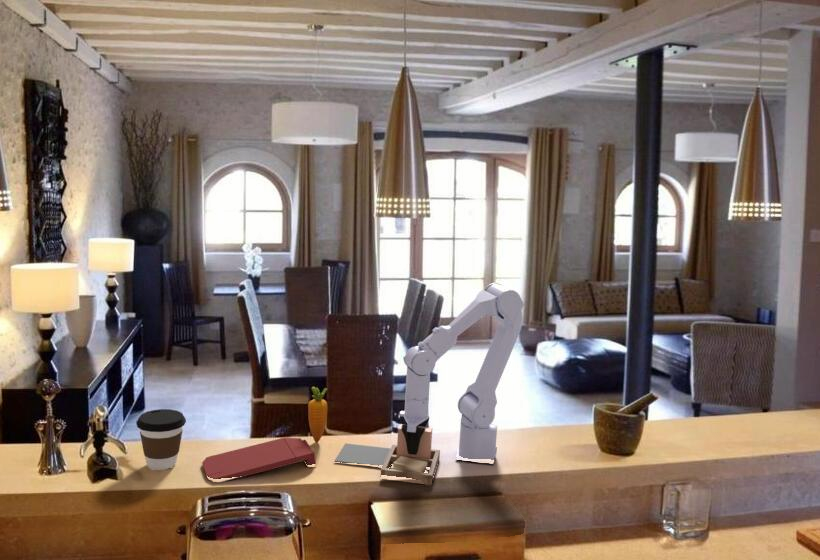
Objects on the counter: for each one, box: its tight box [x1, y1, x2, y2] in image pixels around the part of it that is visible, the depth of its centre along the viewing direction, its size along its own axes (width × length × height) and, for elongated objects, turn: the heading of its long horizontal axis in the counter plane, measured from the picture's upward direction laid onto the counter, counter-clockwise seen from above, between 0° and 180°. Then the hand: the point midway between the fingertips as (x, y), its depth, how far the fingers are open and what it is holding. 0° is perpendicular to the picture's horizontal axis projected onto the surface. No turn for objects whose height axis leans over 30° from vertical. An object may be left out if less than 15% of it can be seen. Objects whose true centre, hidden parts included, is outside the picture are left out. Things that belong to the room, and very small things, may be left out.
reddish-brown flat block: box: [201, 437, 317, 479], centre depth 185 cm, size 12×5×25 cm
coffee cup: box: [135, 408, 187, 471], centre depth 182 cm, size 11×11×12 cm
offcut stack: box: [390, 456, 427, 473], centre depth 184 cm, size 8×5×4 cm, turn 71°
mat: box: [334, 442, 391, 466], centre depth 193 cm, size 12×11×1 cm
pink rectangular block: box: [396, 423, 433, 459], centre depth 191 cm, size 8×3×9 cm, turn 81°
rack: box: [380, 444, 441, 487], centre depth 188 cm, size 12×15×2 cm
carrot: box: [307, 386, 328, 443], centre depth 199 cm, size 5×5×15 cm
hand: (414, 449), depth 191 cm, fingers open, 5 cm apart
